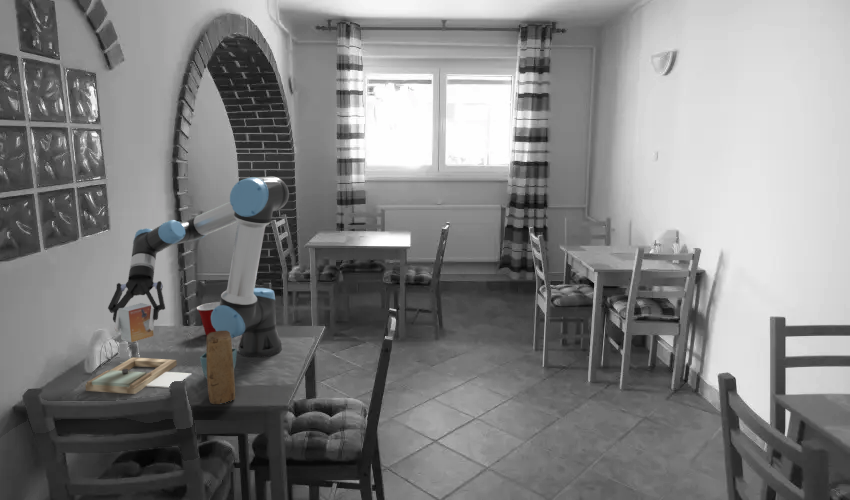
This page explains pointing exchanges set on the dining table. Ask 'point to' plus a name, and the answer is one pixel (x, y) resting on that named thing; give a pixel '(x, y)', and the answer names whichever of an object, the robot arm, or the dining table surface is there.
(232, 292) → the robot arm
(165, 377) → the white flat panel
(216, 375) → the block
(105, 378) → the puzzle board
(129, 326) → the small box
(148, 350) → the dining table surface
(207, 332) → the plastic cup
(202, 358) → the flower pot
